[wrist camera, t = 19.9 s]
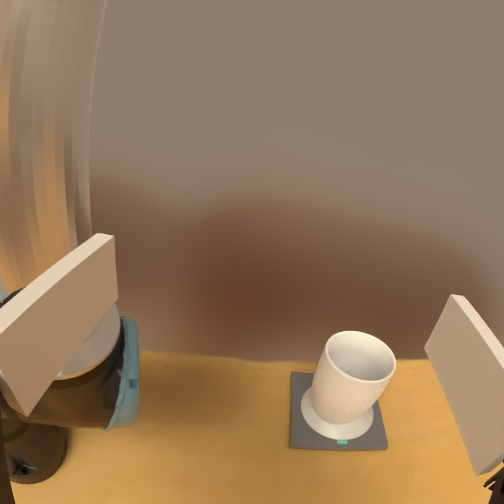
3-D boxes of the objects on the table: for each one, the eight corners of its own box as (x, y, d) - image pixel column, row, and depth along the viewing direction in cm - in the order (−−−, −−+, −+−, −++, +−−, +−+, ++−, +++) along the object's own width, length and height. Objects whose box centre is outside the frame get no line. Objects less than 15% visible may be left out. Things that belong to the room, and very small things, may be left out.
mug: (330, 366, 54) (352, 311, 49) (379, 391, 49) (409, 338, 43) (288, 413, 43) (310, 356, 38) (346, 447, 38) (383, 394, 32)
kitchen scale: (289, 447, 38) (291, 444, 38) (291, 375, 53) (292, 370, 52) (385, 449, 38) (388, 446, 37) (370, 382, 52) (372, 378, 52)
